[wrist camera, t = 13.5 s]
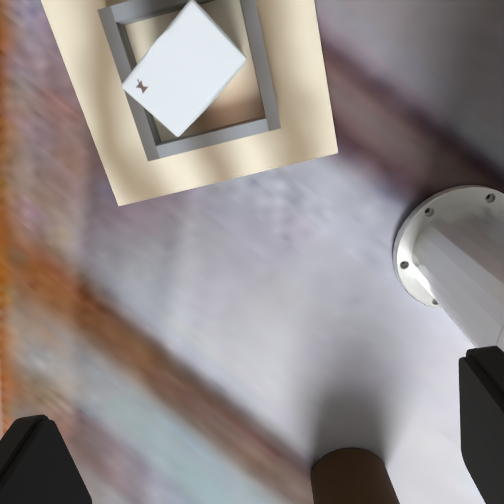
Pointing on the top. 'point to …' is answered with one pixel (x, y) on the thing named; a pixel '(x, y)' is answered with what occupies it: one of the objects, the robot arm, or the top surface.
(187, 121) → the skincare box
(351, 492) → the olive oil
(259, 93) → the holder board
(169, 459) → the top surface
